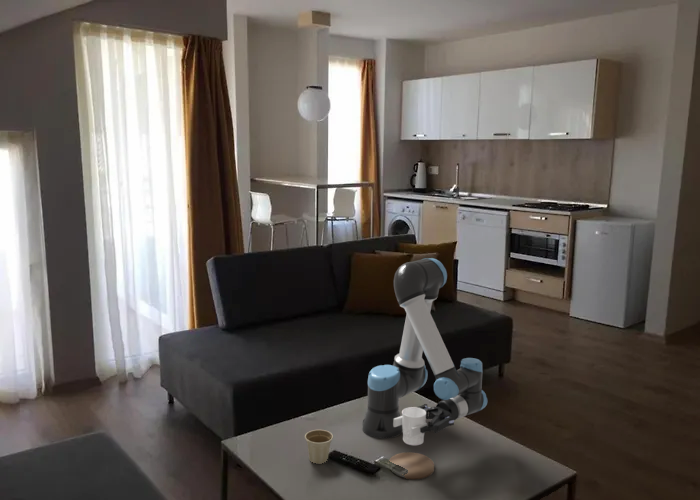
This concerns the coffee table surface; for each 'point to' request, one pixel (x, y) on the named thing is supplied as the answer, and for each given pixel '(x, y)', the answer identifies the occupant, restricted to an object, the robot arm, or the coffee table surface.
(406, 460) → the walnut coaster
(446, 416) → the robot arm
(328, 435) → the flower pot
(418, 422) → the white cup
